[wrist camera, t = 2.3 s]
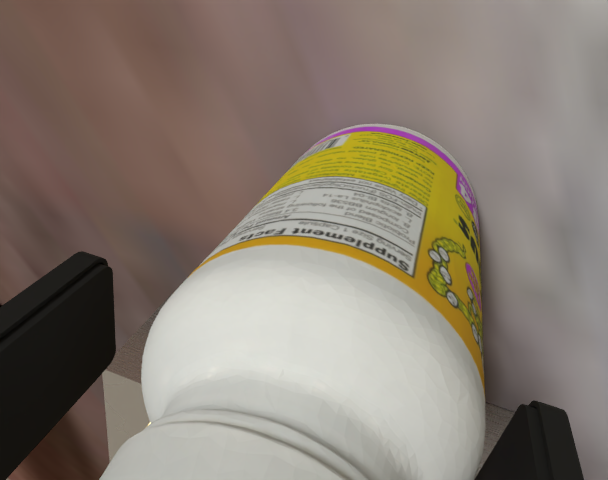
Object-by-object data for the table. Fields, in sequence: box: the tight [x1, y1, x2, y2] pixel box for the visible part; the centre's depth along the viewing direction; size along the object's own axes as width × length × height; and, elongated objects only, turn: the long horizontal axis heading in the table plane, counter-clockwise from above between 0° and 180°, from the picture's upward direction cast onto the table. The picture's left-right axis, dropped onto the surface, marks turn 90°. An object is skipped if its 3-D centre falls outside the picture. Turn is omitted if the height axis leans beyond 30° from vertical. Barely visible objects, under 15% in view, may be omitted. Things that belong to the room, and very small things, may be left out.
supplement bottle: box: [99, 124, 486, 480], centre depth 11 cm, size 7×7×13 cm
